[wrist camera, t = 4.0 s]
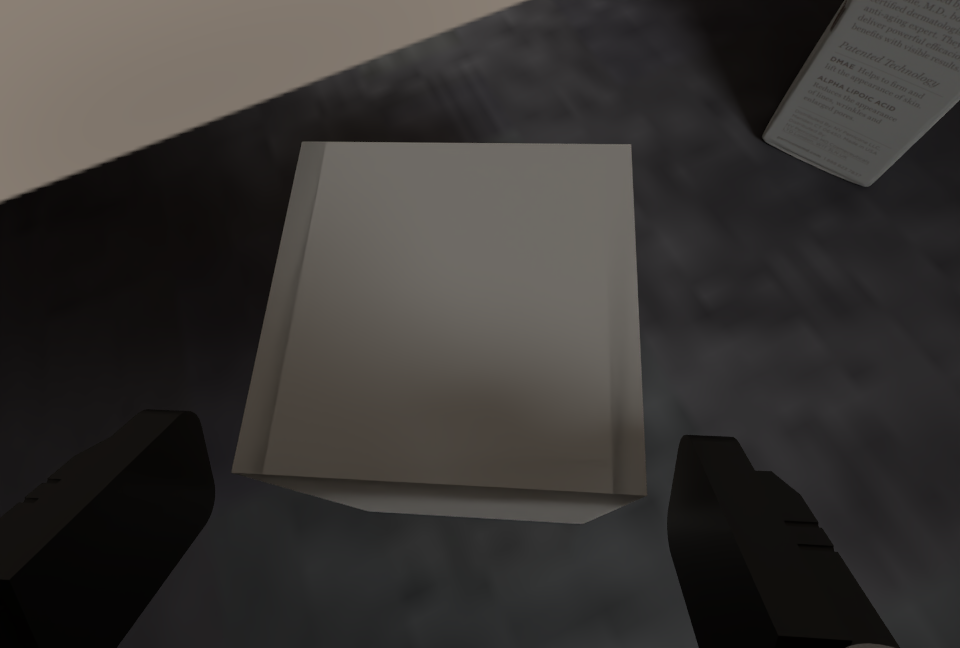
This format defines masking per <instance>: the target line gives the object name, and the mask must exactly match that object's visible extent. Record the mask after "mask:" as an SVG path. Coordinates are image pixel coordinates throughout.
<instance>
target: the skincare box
mask: <svg viewBox="0 0 960 648" xmlns="http://www.w3.org/2000/svg"><path fill="white" fill-rule="evenodd" d="M959 100H960V0H844V2H843V3H842V5H841V6H840V8H839V9H838V11H837V13H836V14H835V16H834V17H833V19H832V21H831V22H830V24H829V25H828V27H827V28H826V30H825V32H824V33H823V35H822V36H821V38H820V39H819V41H818V43H817V44H816V46H815V47H814V49H813V51H812V52H811V54H810V56H809V57H808V59H807V60H806V62H805V64H804V65H803V67H802V68H801V70H800V72H799V73H798V75H797V76H796V78H795V80H794V81H793V83H792V85H791V86H790V88H789V89H788V91H787V93H786V94H785V96H784V98H783V99H782V101H781V103H780V104H779V106H778V108H777V110H776V111H775V113H774V115H773V116H772V118H771V120H770V122H769V123H768V125H767V127H766V129H765V131H764V133H763V135H762V138H763V139H764V141H765V142H766V143H768V144H770V145H772V146H774V147H776V148H778V149H780V150H782V151H783V152H785V153H787V154H789V155H792V156H793V157H795V158H797V159H800V160H802V161H804V162H806V163H808V164H811V165H813V166H815V167H817V168H819V169H821V170H824V171H826V172H828V173H830V174H833V175H835V176H838V177H840V178H842V179H845V180H847V181H850V182H852V183H855V184H858V185H861V186H864V187H868V186H870V185H872V184H873V183H874V182H875V181H876V180H877V179H878V178H879V177H880V176H881V175H882V174H883V173H884V172H885V171H886V170H887V169H888V168H889V167H891V166H892V165H893V164H894V163H895V162H896V161H897V160H898V159H899V158H900V157H901V156H902V155H903V154H904V153H905V152H906V151H907V150H908V149H909V148H910V147H911V146H912V145H913V144H914V143H915V142H917V141H918V140H919V139H920V138H921V137H922V136H923V135H924V134H925V133H926V132H927V131H928V130H929V129H930V128H931V127H932V126H933V125H934V124H935V123H936V122H937V121H938V120H939V119H941V118H942V117H943V116H944V115H945V114H946V113H947V112H948V111H949V110H950V109H951V108H952V107H953V106H954V105H955V104H956V103H957V102H958V101H959Z"/></svg>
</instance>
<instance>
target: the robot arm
mask: <svg viewBox="0 0 960 648" xmlns="http://www.w3.org/2000/svg"><path fill="white" fill-rule="evenodd" d="M214 500H215V485H214V480H213V475H212V471H211V466H210V462H209V457H208V453H207V449H206V444H205V440H204V435H203V431H202V426H201V423H200V420H199V418H198V416H197V415H196V414H195V413H193V412H191V411H171V410H149V409H147V410H143V411H141V412H140V413H138V414H137V415H136V416H135V417H133V418H132V419H131V420H130V421H129V422H128V423H126V424H125V425H124V426H123V427H122V428H121V429H119V430H118V431H117V432H116V433H115V434H114V435H112V436H111V437H110V438H108V439H106V440H104V441H102V442H100V443H98V444H96V445H94V446H93V447H91V448H89V449H87V450H85V451H83V452H81V453H79V454H78V455H76V456H74V457H73V458H72V459H70V460H69V461H68V462H67V463H66V464H64V465H63V466H62V467H61V468H60V469H58V470H57V471H56V472H55V473H54V474H52V475H51V476H50V477H49V478H48V481H47V483H42V484H40V485H39V486H38V487H37V488H36V489H34V490H33V491H32V492H31V493H30V494H29V495H27V496H26V497H25V501H24V502H23V503H18V504H17V505H15V506H14V507H13V508H12V509H11V510H9V511H8V512H7V513H6V514H5V515H3V516H2V517H1V518H0V648H117V647H118V645H119V644H120V642H121V641H122V640H123V638H124V637H125V635H126V634H127V633H128V631H129V630H130V629H131V627H132V626H133V624H134V623H135V622H136V620H137V619H138V617H139V616H140V615H141V613H142V612H143V611H144V609H145V608H146V606H147V605H148V604H149V602H150V601H151V599H152V598H153V597H154V595H155V594H156V593H157V591H158V590H159V588H160V587H161V586H162V584H163V583H164V581H165V580H166V579H167V577H168V576H169V575H170V573H171V572H172V570H173V569H174V568H175V566H176V565H177V563H178V562H179V561H180V559H181V558H182V557H183V555H184V554H185V552H186V551H187V550H188V548H189V547H190V545H191V544H192V543H193V541H194V540H195V539H196V537H197V536H198V534H199V533H200V532H201V530H202V529H203V527H204V526H205V525H206V523H207V521H208V519H209V517H210V515H211V513H212V509H213V506H214ZM667 531H668V542H669V548H670V552H671V556H672V559H673V563H674V566H675V569H676V573H677V576H678V579H679V583H680V586H681V589H682V593H683V596H684V599H685V603H686V606H687V609H688V613H689V616H690V619H691V623H692V626H693V630H694V633H695V636H696V640H697V643H698V646H699V648H900V647H899V645H898V644H897V642H896V641H895V639H894V638H893V636H892V635H891V633H890V632H889V630H888V629H887V627H886V626H885V624H884V622H883V621H882V619H881V618H880V616H879V615H878V613H877V612H876V610H875V609H874V607H873V606H872V604H871V602H870V601H869V599H868V598H867V596H866V595H865V593H864V592H863V590H862V589H861V587H860V586H859V584H858V582H857V581H856V579H855V578H854V576H853V575H852V573H851V572H850V570H849V569H848V567H847V566H846V564H845V563H844V561H843V559H842V558H841V556H840V555H839V553H838V552H834V548H833V547H834V546H833V544H832V543H831V541H830V539H829V538H828V536H827V535H826V533H825V532H824V530H823V529H822V528H819V526H818V521H817V520H816V518H815V516H814V515H813V513H812V512H811V510H810V509H809V507H808V506H807V504H806V503H805V501H804V500H803V498H802V496H801V495H800V494H799V493H797V492H796V491H795V490H794V489H793V488H791V487H790V486H789V485H788V484H786V483H785V482H784V481H783V480H781V479H780V478H779V477H778V476H777V475H775V474H774V473H773V472H772V471H755V470H754V468H753V466H752V465H751V463H750V461H749V460H748V458H747V456H746V454H745V453H744V451H743V449H742V447H741V446H740V444H739V442H738V441H737V440H736V439H735V438H734V437H721V436H699V435H684V436H683V437H682V438H681V441H680V444H679V448H678V454H677V460H676V466H675V472H674V478H673V484H672V490H671V496H670V502H669V508H668V517H667Z"/></svg>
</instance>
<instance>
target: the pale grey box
mask: <svg viewBox="0 0 960 648" xmlns="http://www.w3.org/2000/svg"><path fill="white" fill-rule="evenodd" d="M231 473H234V474H238V475H242V476H245V477H249V478H252V479H256V480H259V481H263V482H266V483H270V484H273V485H277V486H281V487H284V488H288V489H291V490H295V491H298V492H302V493H305V494H309V495H312V496H316V497H319V498H323V499H327V500H330V501H334V502H337V503H341V504H344V505H348V506H351V507H355V508H358V509H362V510H366V511H371V512H388V513H405V514H421V515H438V516H455V517H472V518H489V519H505V520H522V521H539V522H556V523H573V524H584V523H586V522H588V521H591V520H593V519H595V518H597V517H600V516H602V515H604V514H606V513H609V512H611V511H613V510H616V509H618V508H620V507H622V506H625V505H627V504H629V503H631V502H634V501H636V500H638V499H640V498H643V497H645V496H647V484H646V462H645V440H644V418H643V396H642V375H641V353H640V331H639V309H638V287H637V266H636V244H635V222H634V200H633V178H632V157H631V145H628V144H518V143H407V142H302V144H301V149H300V153H299V158H298V163H297V167H296V172H295V177H294V182H293V186H292V191H291V196H290V200H289V205H288V210H287V214H286V219H285V224H284V228H283V233H282V238H281V242H280V247H279V252H278V256H277V261H276V266H275V270H274V275H273V280H272V285H271V289H270V294H269V299H268V303H267V308H266V313H265V317H264V322H263V327H262V331H261V336H260V341H259V345H258V350H257V355H256V359H255V364H254V369H253V373H252V378H251V383H250V388H249V392H248V397H247V402H246V406H245V411H244V416H243V420H242V425H241V430H240V434H239V439H238V444H237V448H236V453H235V458H234V462H233V467H232V472H231Z"/></svg>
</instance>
